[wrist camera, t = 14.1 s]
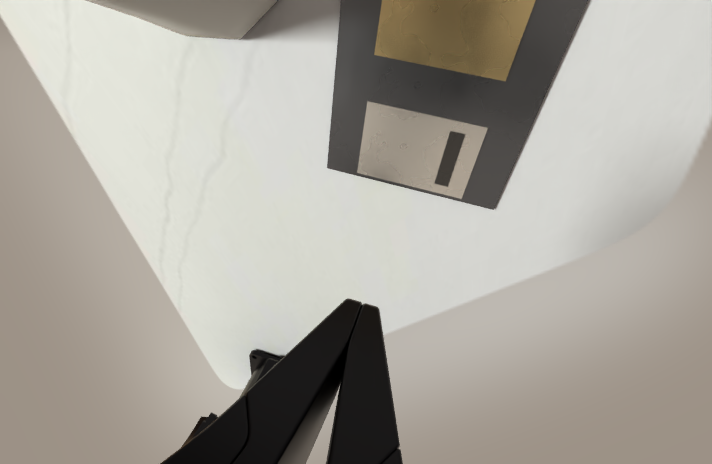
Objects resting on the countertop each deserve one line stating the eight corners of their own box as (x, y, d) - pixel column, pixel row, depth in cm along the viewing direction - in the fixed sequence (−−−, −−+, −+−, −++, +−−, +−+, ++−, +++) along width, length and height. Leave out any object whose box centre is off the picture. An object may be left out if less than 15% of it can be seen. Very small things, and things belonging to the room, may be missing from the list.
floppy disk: (493, 209, 18) (493, 210, 18) (327, 167, 19) (326, 169, 19) (602, -33, 12) (603, -33, 12) (347, -72, 13) (346, -73, 13)
